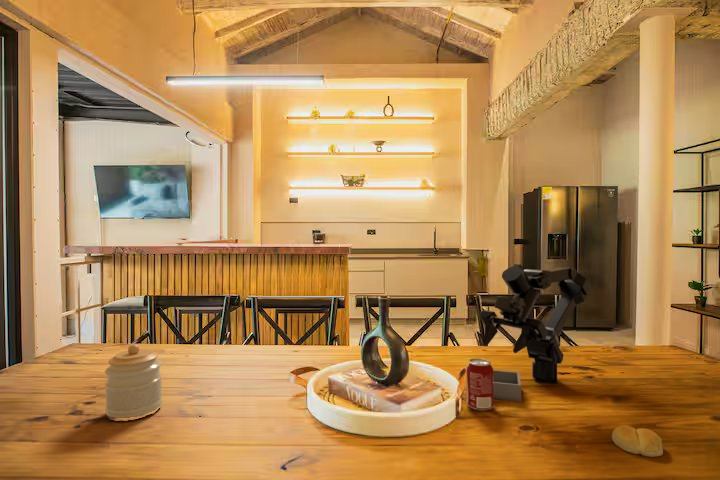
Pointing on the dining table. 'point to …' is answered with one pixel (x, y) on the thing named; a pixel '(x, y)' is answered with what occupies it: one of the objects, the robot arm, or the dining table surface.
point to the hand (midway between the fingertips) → (499, 348)
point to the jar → (133, 383)
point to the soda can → (479, 384)
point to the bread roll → (638, 441)
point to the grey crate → (506, 385)
